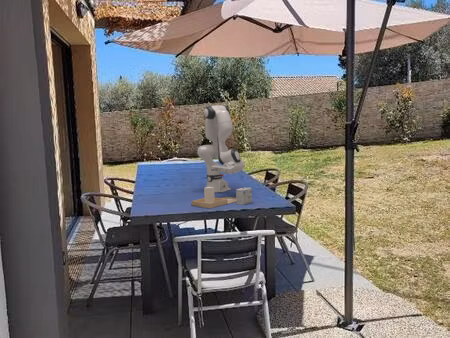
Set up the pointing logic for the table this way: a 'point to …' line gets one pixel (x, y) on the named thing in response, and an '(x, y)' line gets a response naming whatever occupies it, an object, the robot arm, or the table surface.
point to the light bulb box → (243, 196)
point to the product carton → (209, 194)
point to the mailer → (215, 204)
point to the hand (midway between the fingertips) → (215, 170)
